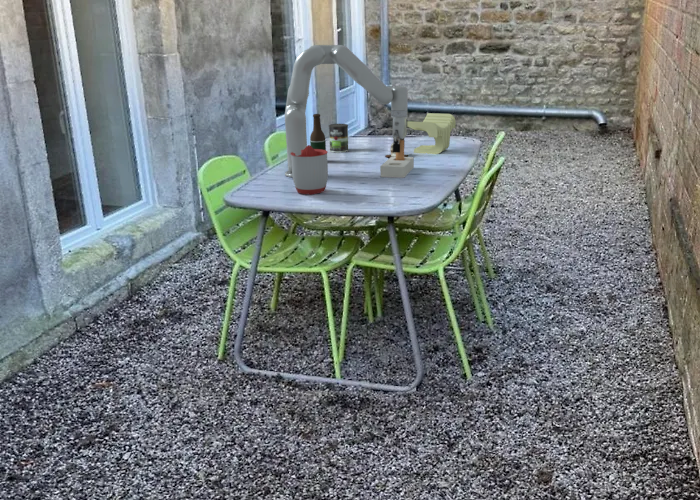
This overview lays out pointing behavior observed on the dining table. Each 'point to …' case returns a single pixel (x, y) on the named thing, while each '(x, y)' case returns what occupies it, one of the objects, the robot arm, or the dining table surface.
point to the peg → (400, 154)
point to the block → (397, 167)
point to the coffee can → (338, 137)
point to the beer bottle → (317, 135)
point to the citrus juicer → (310, 170)
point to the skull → (393, 154)
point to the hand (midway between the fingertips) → (398, 150)
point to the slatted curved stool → (435, 131)
